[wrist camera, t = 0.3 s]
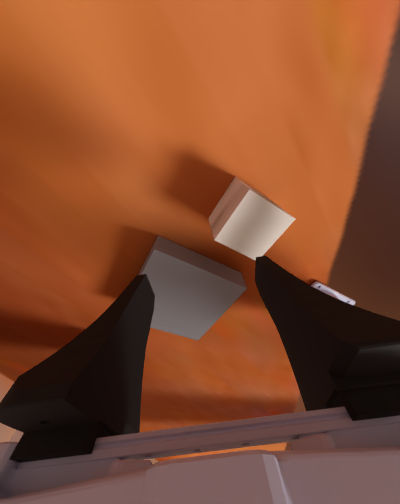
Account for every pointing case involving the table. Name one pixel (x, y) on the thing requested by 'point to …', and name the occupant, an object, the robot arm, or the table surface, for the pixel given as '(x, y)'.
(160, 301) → the charcoal plinth
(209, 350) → the table surface
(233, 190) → the cream cube
